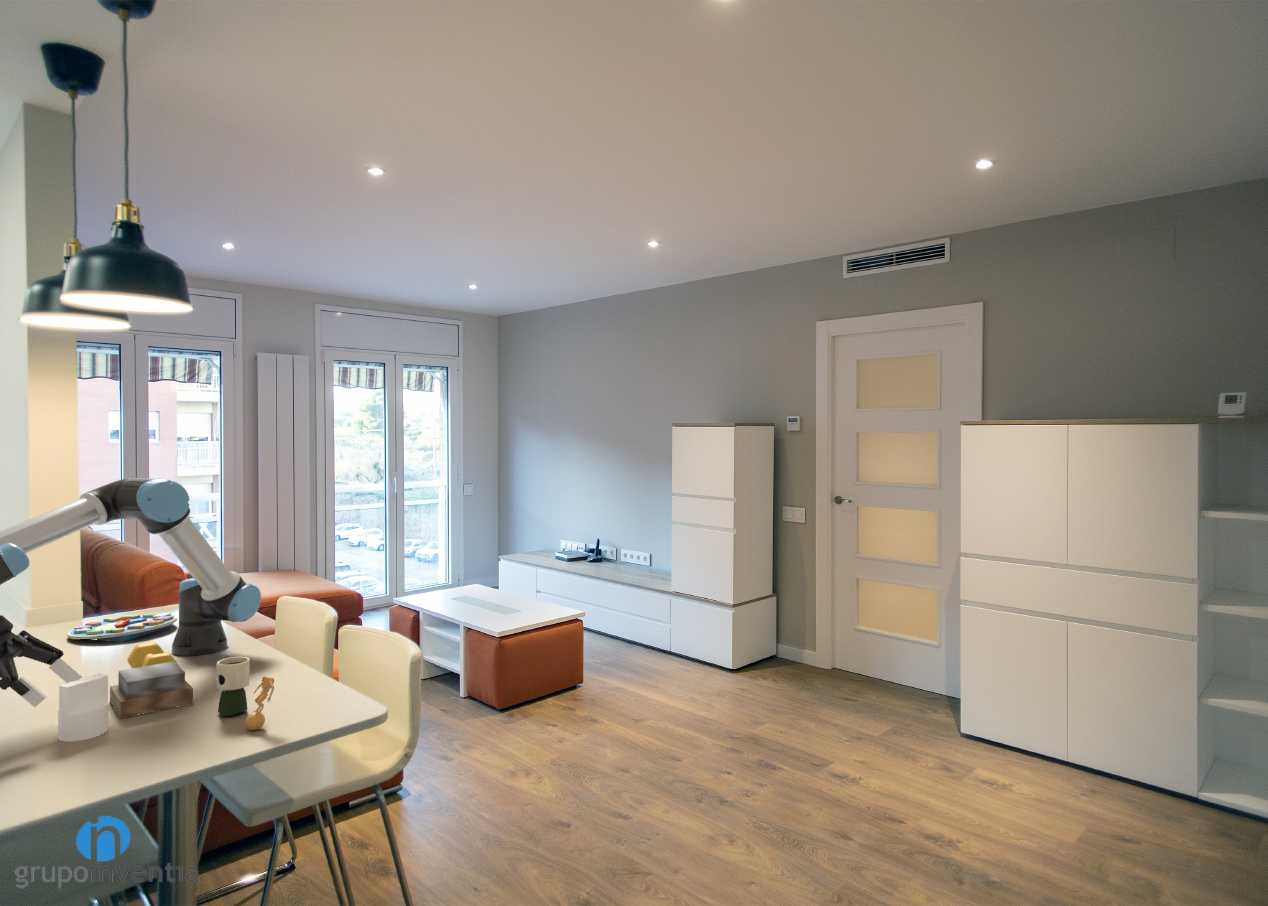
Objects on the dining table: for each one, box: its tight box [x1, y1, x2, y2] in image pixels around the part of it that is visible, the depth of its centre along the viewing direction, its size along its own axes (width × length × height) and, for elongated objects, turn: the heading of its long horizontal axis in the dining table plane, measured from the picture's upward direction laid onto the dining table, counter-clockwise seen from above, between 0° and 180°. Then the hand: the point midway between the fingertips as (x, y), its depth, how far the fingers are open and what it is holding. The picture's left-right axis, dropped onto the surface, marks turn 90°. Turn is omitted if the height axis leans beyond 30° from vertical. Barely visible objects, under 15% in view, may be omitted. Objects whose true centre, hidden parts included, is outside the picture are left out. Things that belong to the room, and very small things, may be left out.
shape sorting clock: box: [67, 612, 178, 643], centre depth 245 cm, size 31×30×6 cm
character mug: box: [215, 656, 251, 717], centre depth 174 cm, size 11×7×13 cm, turn 39°
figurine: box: [244, 675, 275, 731], centre depth 165 cm, size 8×6×12 cm
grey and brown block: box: [109, 661, 194, 720], centre depth 180 cm, size 15×15×8 cm
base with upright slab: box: [57, 673, 110, 742], centre depth 161 cm, size 9×9×12 cm
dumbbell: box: [126, 641, 180, 669], centre depth 199 cm, size 19×9×8 cm, turn 45°
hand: (59, 691), depth 159 cm, fingers open, 13 cm apart
